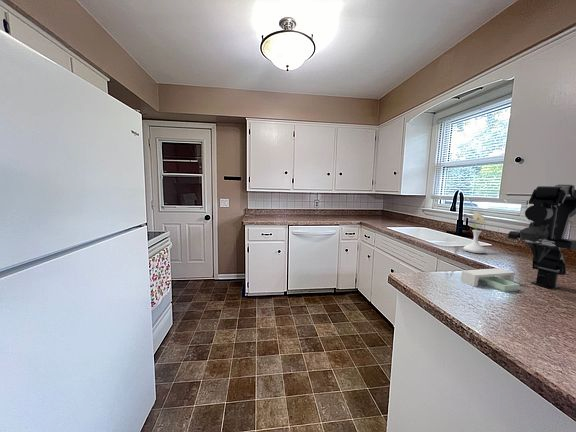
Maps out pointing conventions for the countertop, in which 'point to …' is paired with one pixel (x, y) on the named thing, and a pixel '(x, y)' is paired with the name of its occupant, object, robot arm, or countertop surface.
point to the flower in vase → (476, 236)
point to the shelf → (485, 275)
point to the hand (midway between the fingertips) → (537, 261)
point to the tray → (500, 284)
